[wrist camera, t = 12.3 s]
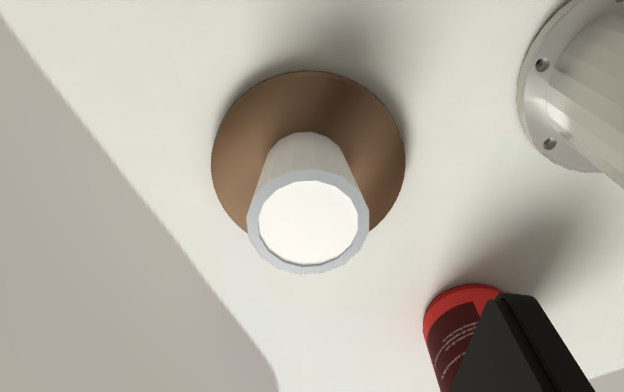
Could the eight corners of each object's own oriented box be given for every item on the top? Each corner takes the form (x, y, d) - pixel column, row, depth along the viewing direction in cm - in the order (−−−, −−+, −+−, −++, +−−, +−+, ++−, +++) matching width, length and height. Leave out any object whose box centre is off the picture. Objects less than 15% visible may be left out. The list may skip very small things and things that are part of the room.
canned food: (508, 348, 45) (568, 468, 35) (417, 353, 45) (451, 474, 35) (523, 278, 41) (593, 389, 31) (422, 282, 41) (463, 396, 31)
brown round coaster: (427, 93, 33) (431, 99, 32) (372, 255, 39) (375, 264, 38) (227, 50, 32) (225, 55, 31) (202, 226, 38) (199, 235, 37)
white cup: (270, 224, 36) (266, 286, 30) (240, 136, 33) (229, 186, 27) (365, 202, 36) (380, 261, 30) (344, 111, 33) (356, 155, 26)
